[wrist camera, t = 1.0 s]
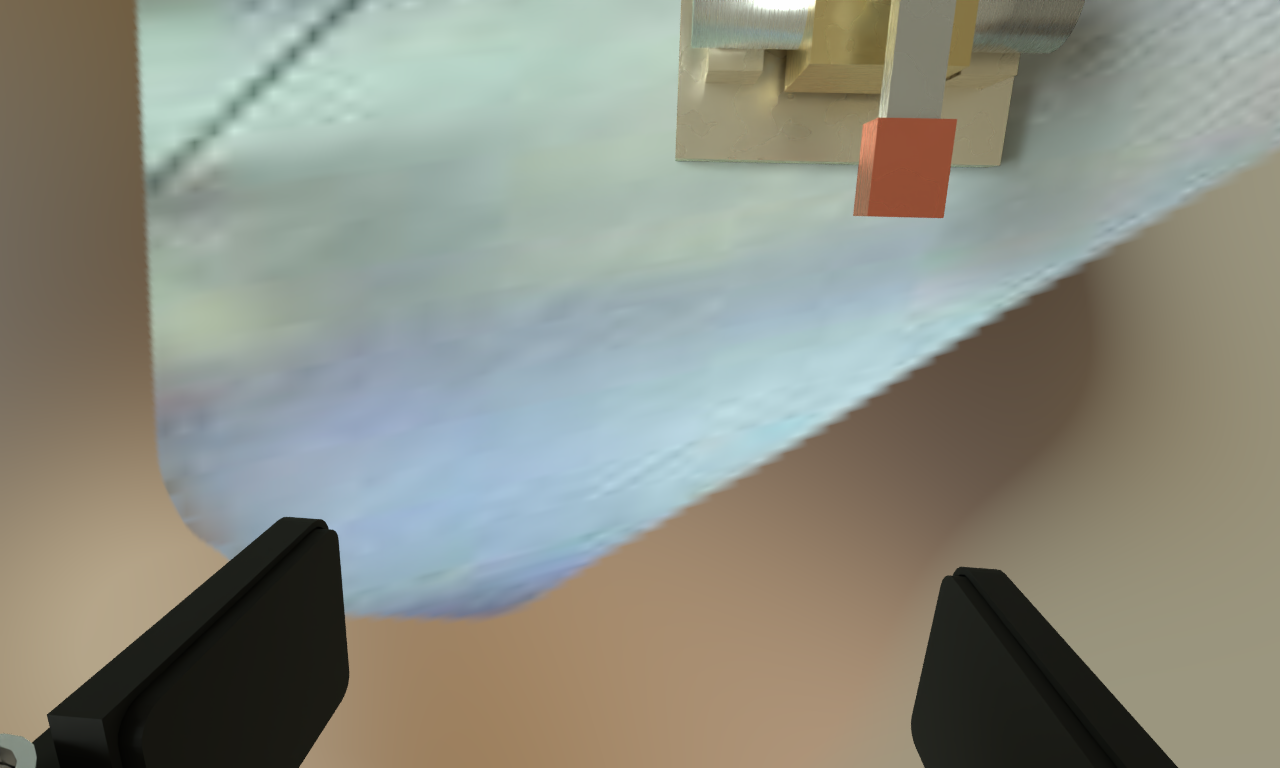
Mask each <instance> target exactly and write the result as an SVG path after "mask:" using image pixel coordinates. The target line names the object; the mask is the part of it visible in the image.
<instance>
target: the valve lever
mask: <svg viewBox="0 0 1280 768" xmlns="http://www.w3.org/2000/svg"><path fill="white" fill-rule="evenodd" d="M955 7H956V0H891V7H890V16H889V25H888V34H887V43H886V52H885V61H884V70H883V79H882V88H881V97H880V106H879V115H878V118H876V119H874V120H872V121H870V122H867V123H865V124H863V129H862V138H861V148H860V157H859V167H858V176H857V186H856V195H855V204H854V214H853V216H878V217H918V218H943V217H944V210H945V203H946V196H947V189H948V182H949V175H950V167H951V160H952V153H953V146H954V139H955V132H956V125H957V119H941V111H942V104H943V96H944V89H945V82H946V74H947V67H948V59H949V52H950V44H951V37H952V29H953V22H954V15H955Z"/></svg>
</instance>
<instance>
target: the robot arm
mask: <svg viewBox="0 0 1280 768" xmlns="http://www.w3.org/2000/svg"><path fill="white" fill-rule="evenodd" d="M348 681H349V663H348V652H347V638H346V626H345V614H344V602H343V589H342V577H341V565H340V552H339V540H338V535H337V533H336V531H334V530H329V529H328V526H327V524H326V522H325V521H323V520H322V519H308V518H295V517H283V518H281V519H280V520H278V521H277V522H276V523H275V524H273V525H272V526H271V527H270V528H269V529H267V530H266V531H265V532H264V533H263V534H261V535H260V536H259V537H258V538H257V539H256V540H254V541H253V542H252V543H251V544H250V545H248V546H247V547H246V548H245V549H244V550H242V551H241V552H240V553H239V554H238V555H236V556H235V557H234V558H233V559H232V560H231V561H229V562H228V563H227V564H226V565H225V566H223V567H222V568H221V569H220V570H219V571H217V572H216V573H215V574H214V575H213V576H211V577H210V578H209V579H208V580H207V581H206V582H204V583H203V584H202V585H201V586H200V587H198V588H197V589H196V590H195V591H194V592H192V593H191V594H190V595H189V596H188V597H187V598H185V599H184V600H183V601H182V602H181V603H179V605H177V606H176V607H175V608H173V609H172V610H171V611H170V612H169V613H168V614H166V615H165V616H164V617H163V618H162V619H161V620H159V621H158V622H157V623H156V624H155V625H153V626H152V627H151V628H150V629H149V630H147V631H146V632H145V633H144V634H142V635H141V636H140V637H139V638H138V639H137V640H136V641H134V642H133V643H132V644H131V645H129V646H128V647H127V648H126V649H125V650H123V651H122V652H121V653H120V654H119V655H117V656H116V657H115V658H114V659H113V660H112V661H110V662H109V663H108V664H107V665H106V666H105V667H103V668H102V669H101V670H100V671H98V672H97V673H96V674H95V675H94V676H93V677H91V679H89V680H88V681H87V682H85V683H84V684H83V685H82V686H81V687H80V688H78V689H77V690H76V691H75V692H74V693H72V694H71V695H70V696H69V697H68V698H66V699H65V700H64V701H63V702H62V703H60V704H59V705H58V706H57V707H56V708H54V709H53V710H52V711H51V712H50V713H48V714H47V717H48V722H49V726H50V728H48V729H47V730H46V731H45V732H44V733H43V734H42V735H41V736H39V737H38V738H37V739H36V740H35V741H34V742H32V743H31V742H30V741H28V740H27V739H25V738H24V737H22V736H15V735H10V734H0V768H299V766H300V765H301V763H302V762H303V760H304V759H305V757H306V756H307V754H308V753H309V751H310V749H311V748H312V746H313V745H314V743H315V742H316V740H317V739H318V737H319V735H320V734H321V732H322V731H323V729H324V728H325V726H326V724H327V723H328V721H329V720H330V718H331V717H332V715H333V714H334V712H335V710H336V709H337V707H338V706H339V704H340V703H341V701H342V699H343V697H344V695H345V693H346V690H347V686H348ZM911 730H912V736H913V741H914V744H915V747H916V749H917V751H918V753H919V756H920V758H921V760H922V762H923V765H924V767H925V768H1178V767H1177V766H1176V765H1175V764H1174V763H1173V761H1172V760H1171V759H1170V758H1169V757H1168V756H1167V755H1166V754H1165V753H1164V751H1163V750H1162V749H1161V748H1160V747H1159V746H1158V745H1157V743H1156V742H1155V741H1154V740H1153V739H1152V738H1151V737H1150V736H1149V734H1148V733H1147V732H1146V731H1145V730H1144V729H1143V728H1142V727H1141V726H1140V724H1139V723H1138V722H1137V721H1136V720H1135V719H1134V718H1133V717H1132V716H1131V714H1130V713H1129V712H1128V711H1127V710H1126V709H1125V708H1124V707H1123V705H1122V704H1121V703H1120V702H1119V701H1118V700H1117V699H1116V698H1115V696H1114V695H1113V694H1112V693H1111V692H1110V691H1109V690H1108V689H1107V687H1106V686H1105V685H1104V684H1103V683H1102V682H1101V681H1100V680H1099V679H1098V677H1097V676H1096V675H1095V674H1094V673H1093V672H1092V671H1091V670H1090V668H1089V667H1088V666H1087V665H1086V664H1085V663H1084V662H1083V661H1082V659H1081V658H1080V657H1079V656H1078V655H1077V654H1076V653H1075V652H1074V651H1073V649H1072V648H1071V647H1070V646H1069V645H1068V644H1067V643H1066V642H1065V640H1064V639H1063V638H1062V637H1061V636H1060V635H1059V634H1058V633H1057V631H1056V630H1055V629H1054V628H1053V627H1052V626H1051V625H1050V624H1049V622H1048V621H1047V620H1046V619H1045V618H1044V617H1043V616H1042V615H1041V613H1040V612H1039V611H1038V610H1037V609H1036V608H1035V607H1034V606H1033V605H1032V603H1031V602H1030V601H1029V600H1028V599H1027V598H1026V597H1025V596H1024V595H1023V593H1022V592H1021V591H1020V590H1019V589H1018V588H1017V587H1016V585H1015V584H1014V583H1013V582H1012V581H1011V580H1010V579H1009V578H1008V577H1007V575H1006V574H1005V573H1003V572H1002V571H1001V570H996V569H983V568H970V567H959V568H957V569H956V571H955V572H954V574H953V576H946V577H945V578H944V579H943V580H942V583H941V587H940V592H939V596H938V600H937V605H936V610H935V614H934V619H933V624H932V628H931V632H930V637H929V641H928V646H927V650H926V655H925V659H924V664H923V668H922V673H921V677H920V682H919V687H918V691H917V696H916V700H915V705H914V709H913V714H912V719H911Z"/></svg>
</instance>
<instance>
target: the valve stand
mask: <svg viewBox="0 0 1280 768" xmlns="http://www.w3.org/2000/svg"><path fill="white" fill-rule="evenodd" d="M1084 2H1085V0H956V7H955V15H954V22H953V29H952V37H951V44H950V52H949V59H948V67H947V74H946V82H945V89H944V96H943V104H942V111H941V119H957V125H956V132H955V139H954V146H953V153H952V160H951V167H985V168H986V167H993V166H1000V163H1001V156H1002V150H1003V144H1004V138H1005V131H1006V125H1007V119H1008V112H1009V106H1010V100H1011V94H1012V87H1013V81H1014V76H1016V75H1017V72H1018V66H1019V59H1020V53H1051V52H1053V51H1055V50H1057V49H1058V48H1059V47H1060V46H1061V45H1062V44H1063V43H1064V42H1065V41H1066V39H1067V38H1068V37H1069V35H1070V33H1071V32H1072V30H1073V28H1074V27H1075V25H1076V23H1077V20H1078V18H1079V16H1080V13H1081V11H1082V8H1083V5H1084ZM890 7H891V0H681V20H680V47H679V75H678V102H677V130H676V157H675V161H711V162H757V163H802V164H848V165H859V157H860V148H861V138H862V129H863V124H865V123H867V122H870V121H872V120H874V119H876V118H878V115H879V106H880V97H881V88H882V79H883V70H884V61H885V52H886V43H887V34H888V25H889V16H890Z"/></svg>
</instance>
